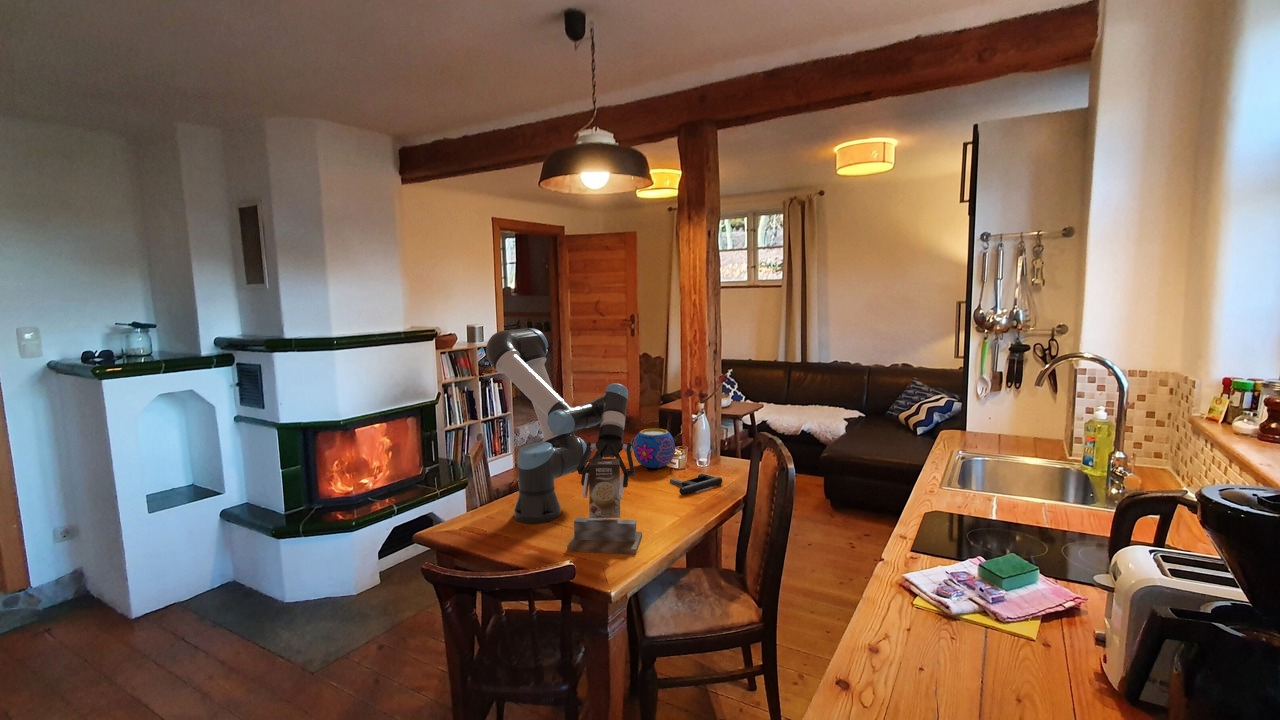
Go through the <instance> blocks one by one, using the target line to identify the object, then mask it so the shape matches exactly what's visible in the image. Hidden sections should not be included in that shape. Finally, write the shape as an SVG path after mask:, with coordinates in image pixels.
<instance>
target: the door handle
mask: <svg viewBox="0 0 1280 720" xmlns="http://www.w3.org/2000/svg"><path fill="white" fill-rule="evenodd" d="M669 484H672V485H675V486H677V487H680V488H679V494H680V495H681V496H687V495H690V494H691V495H692V494H693V493H695V494H696V493H697V494H698V493H701V492H704V491H707V490H710V489H711V490H712V489H713V488H714V487H717V486H720V485H722V484H723V478H722V477H721V476H713V475H710V474H705V473H700V474H698V475H697V477H695V478H692V479H688V480H684V481H683V480H680V479H676V478H670V479H669Z"/></svg>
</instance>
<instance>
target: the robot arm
mask: <svg viewBox="0 0 1280 720" xmlns="http://www.w3.org/2000/svg"><path fill="white" fill-rule="evenodd" d="M485 348H486V349H485V352H486V357H487V360H488V362H489V363H490V366H492V368H493V369H494V370H495V371H496V372H497V373H499V374H503V375H504V376H505V377H507V378H508V379H509V381H511V383H513V384H514V385H515V386H516V387H517V388H518V389H519V390H520V391H521V392H522V393H523V394H524V395H525V396H526V397H527V399H529V400H530V401H531V404H532V406H533V409H534V412H535V414H536V418H537V420H538V423H539V426H540V428H541V431H542V434H543V439H542V441H537V442H532V443H528V444H526V445H524V446H522V447H521V448H520V449H519V450H518V452H517V461H516V465H517V476H518V478H517V479H518V480H517V481H518V496H517V498H516V499H517V500H516V503H515V507H514V519H515V520H517V521H518V522H520V523H525V524H542V523H547V522H551V521H554V520H556V519H557V518H559V517H560V515H561V514H562V513H561V512H562V511H561V504H560V502H559V499H558V497H557V494H556V490H555V480H556V479H557V478H561V477H563V476H566V475H568V474H573V473H575V472H577V474H578V475H581V480H580V483H581V486H583V487H582V493H581V494H582V496H583V498H588V494H589V459H604V458H610V459H619V460H620V470H621V471H622V473H620V488H619V498H620V500H623V498H624V489H625V488H628V486H629V479H630V477H635V476H636V472H635V471H636V470H635V465H634V462H633V461H634V460H633V456H632V452H633V448H632V445H631V442H629V443H627V444H625V443H623V441H624V433H625V432H624V430H625V427H626V416H627V407H628V402H629V390H628V388H627V387H626V386H624V384H620V383H610V384H608V385H607V386H606V388H605V391H604V395H602V396H600V397H599V398H596V399H594V400H592V401H590V402H586V403H583V404H578V405H574V406H572V405H570V404H569V403H568V402H567V401H566V400H565V399H563V397H562V396H560V394H559V393H557V391H556V390H554V388H553V384H552V382H551V380H550V378H549V377H550V376H549V374H548V372H547V368H546V366H545V364H546V362H547V357H546V356H547V354H548V352H549V351H548V349H549V343H548V340H547V338H546V336H545V335H544V333H543V332H542V331H540V330H539V329H536V328H532V327H531V328H530V327H523V328H518V329H516V328H515V329H509V330H508V329H507V330H505V329H504V330H500V331H497V332H495V333H494V334H492V335H491V336H490V338H489V339H488V341H487V343H486V347H485ZM597 425H600V426H599V430H598V431H599V432H598V437H597V440H596V442H595V443H591V442H590V441H588V442H585V440H584V439H582V438H581V437H579V436H576V434H575V431H578V430H582V429H589V428H593V427H596V426H597ZM595 449H596V451H595ZM623 449H624V451H625V452H626V455H627V462H628V466H629V470H628V469H627V467H626V464H625V462H624V461H623V459H622V457H621V455H620V453H621V452H622V450H623ZM594 451H595V454H594V455H593V457H592V458H591V456H592V452H594Z"/></svg>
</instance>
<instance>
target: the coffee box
mask: <svg viewBox="0 0 1280 720" xmlns="http://www.w3.org/2000/svg"><path fill="white" fill-rule="evenodd" d="M588 463H589V487H588V496H589V497H588V498H589V501H588V503H589V504H588V506H589V507H588V508H589V509H588V510H589V511H588V512H589V513H588V514H589V515H588V518H601V519H621V499H620V498H619V488H620V479H621V473H620V472H621V471H620V470H621V467H620V460H619V459H616V458H602V459H592V458H589V460H588Z"/></svg>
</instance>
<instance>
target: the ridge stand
mask: <svg viewBox="0 0 1280 720" xmlns="http://www.w3.org/2000/svg"><path fill="white" fill-rule="evenodd" d="M573 530H574V531H573V535H572V537H571V539H570V541H568V544H567V545H566V550H567V552H568V551H569V552H581V553H582V552H584V553H585V552H586V553H601V554H602V553H604V554H622V555H623V554H624V555H625V554H626V555H637V553H638V550H639V546H640V544H641V541H642V538H643V531H637V520H636V519H624V518H623V519H621V518H589V517H575V519H574V520H573Z"/></svg>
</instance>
